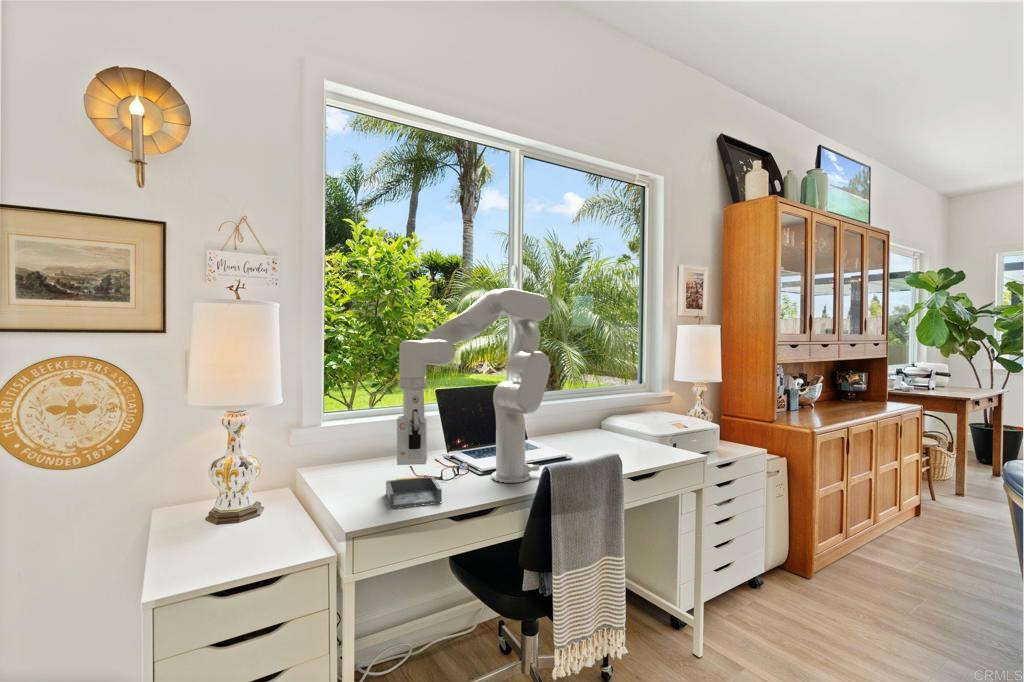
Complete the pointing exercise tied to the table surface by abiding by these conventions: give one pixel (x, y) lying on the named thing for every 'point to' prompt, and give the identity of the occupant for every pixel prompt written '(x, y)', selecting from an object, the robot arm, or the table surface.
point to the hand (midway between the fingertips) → (412, 445)
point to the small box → (403, 451)
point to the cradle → (413, 491)
